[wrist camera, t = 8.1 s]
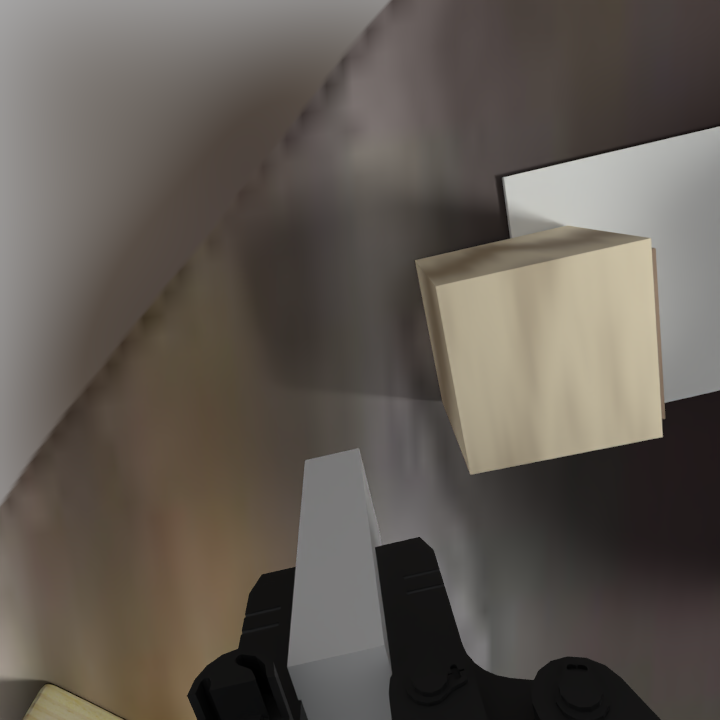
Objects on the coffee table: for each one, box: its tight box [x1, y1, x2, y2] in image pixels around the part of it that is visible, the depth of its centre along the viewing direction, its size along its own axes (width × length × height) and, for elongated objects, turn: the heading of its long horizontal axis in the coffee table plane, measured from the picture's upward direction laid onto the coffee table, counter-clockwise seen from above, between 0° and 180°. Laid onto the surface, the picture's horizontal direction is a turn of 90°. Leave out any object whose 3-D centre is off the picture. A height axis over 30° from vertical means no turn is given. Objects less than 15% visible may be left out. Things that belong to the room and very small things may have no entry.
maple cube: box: [415, 226, 665, 475], centre depth 24 cm, size 8×8×8 cm
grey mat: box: [502, 126, 720, 403], centre depth 28 cm, size 14×14×1 cm
